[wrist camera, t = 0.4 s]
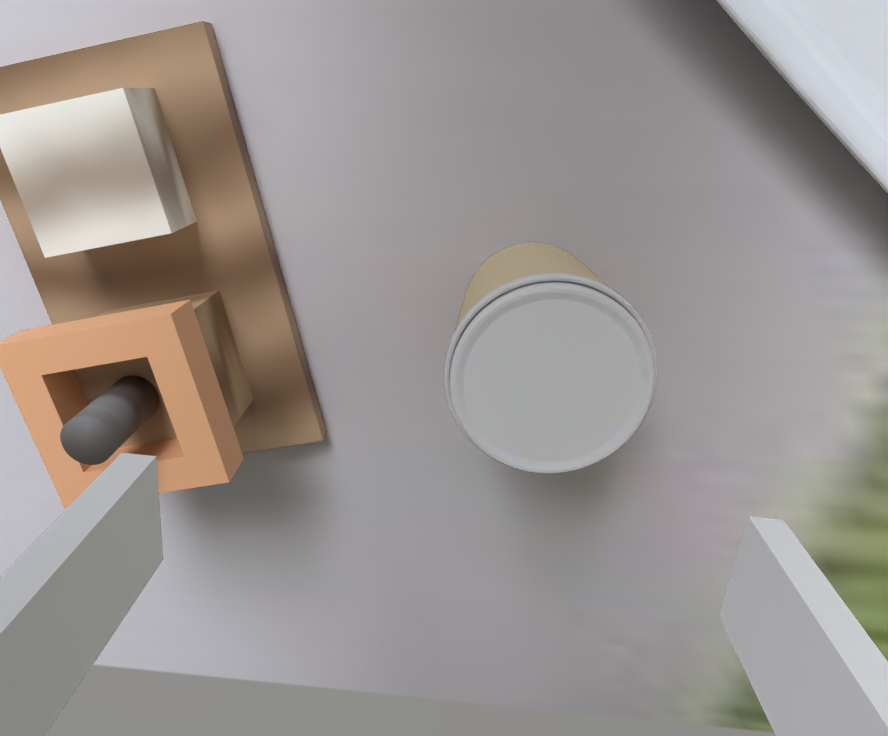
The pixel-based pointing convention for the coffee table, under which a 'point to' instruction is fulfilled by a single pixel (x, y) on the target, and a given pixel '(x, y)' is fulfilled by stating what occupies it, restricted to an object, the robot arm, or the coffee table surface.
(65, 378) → the square frame
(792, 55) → the tray
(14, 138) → the stand
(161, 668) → the coffee table surface
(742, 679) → the coffee table surface
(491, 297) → the coffee cup
